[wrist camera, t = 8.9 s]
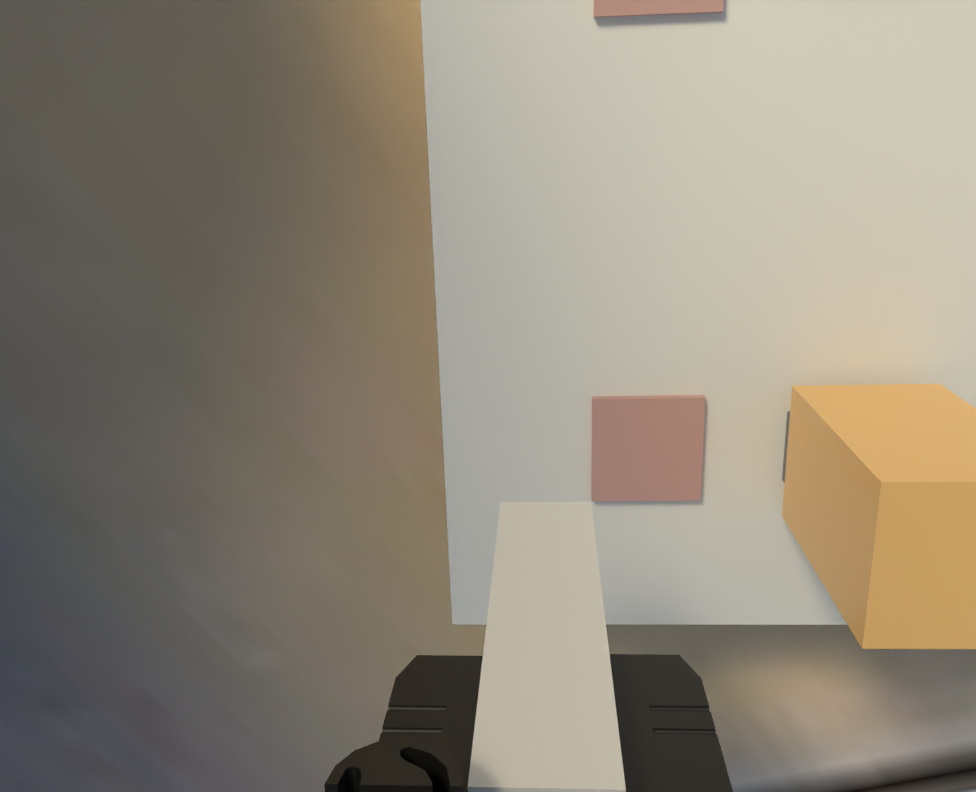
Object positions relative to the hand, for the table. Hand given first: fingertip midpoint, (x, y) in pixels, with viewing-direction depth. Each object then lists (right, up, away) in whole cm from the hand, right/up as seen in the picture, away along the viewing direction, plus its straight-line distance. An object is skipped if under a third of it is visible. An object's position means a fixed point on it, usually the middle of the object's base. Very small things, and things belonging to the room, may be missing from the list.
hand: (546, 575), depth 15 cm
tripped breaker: (+7, +2, +4) cm, 8 cm away
